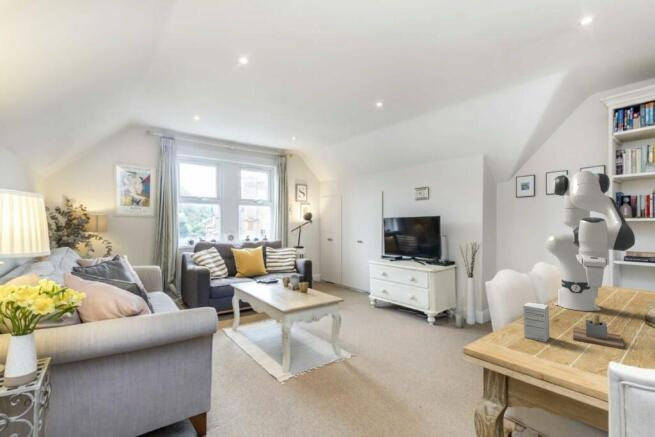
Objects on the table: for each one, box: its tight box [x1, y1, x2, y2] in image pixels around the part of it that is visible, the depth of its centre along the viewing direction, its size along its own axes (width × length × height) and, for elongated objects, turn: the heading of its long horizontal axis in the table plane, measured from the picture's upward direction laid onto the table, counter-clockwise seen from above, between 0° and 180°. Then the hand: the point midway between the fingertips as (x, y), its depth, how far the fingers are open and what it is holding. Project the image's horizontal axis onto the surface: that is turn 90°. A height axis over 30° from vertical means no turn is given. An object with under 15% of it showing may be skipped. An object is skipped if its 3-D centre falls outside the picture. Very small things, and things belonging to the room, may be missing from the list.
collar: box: [585, 319, 608, 340], centre depth 116 cm, size 6×6×5 cm
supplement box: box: [522, 301, 551, 343], centre depth 119 cm, size 7×7×13 cm
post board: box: [572, 314, 625, 350], centre depth 116 cm, size 14×14×9 cm
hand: (594, 294), depth 117 cm, fingers open, 8 cm apart
